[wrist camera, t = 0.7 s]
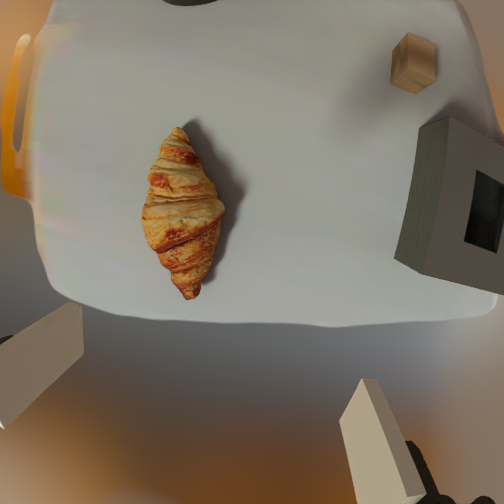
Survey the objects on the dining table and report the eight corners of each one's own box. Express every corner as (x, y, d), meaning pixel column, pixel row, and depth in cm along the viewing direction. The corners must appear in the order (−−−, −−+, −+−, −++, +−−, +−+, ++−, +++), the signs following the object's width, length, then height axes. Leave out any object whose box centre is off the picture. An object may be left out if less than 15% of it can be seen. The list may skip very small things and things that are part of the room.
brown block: (392, 50, 29) (408, 32, 24) (416, 61, 29) (435, 44, 23) (390, 84, 31) (407, 68, 25) (415, 94, 30) (435, 81, 25)
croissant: (169, 140, 38) (122, 135, 31) (225, 120, 32) (177, 108, 26) (185, 287, 41) (141, 304, 34) (243, 294, 36) (199, 317, 29)
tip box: (419, 128, 31) (449, 115, 23) (497, 167, 31) (530, 166, 23) (393, 258, 35) (421, 274, 27) (475, 280, 34) (506, 295, 27)
